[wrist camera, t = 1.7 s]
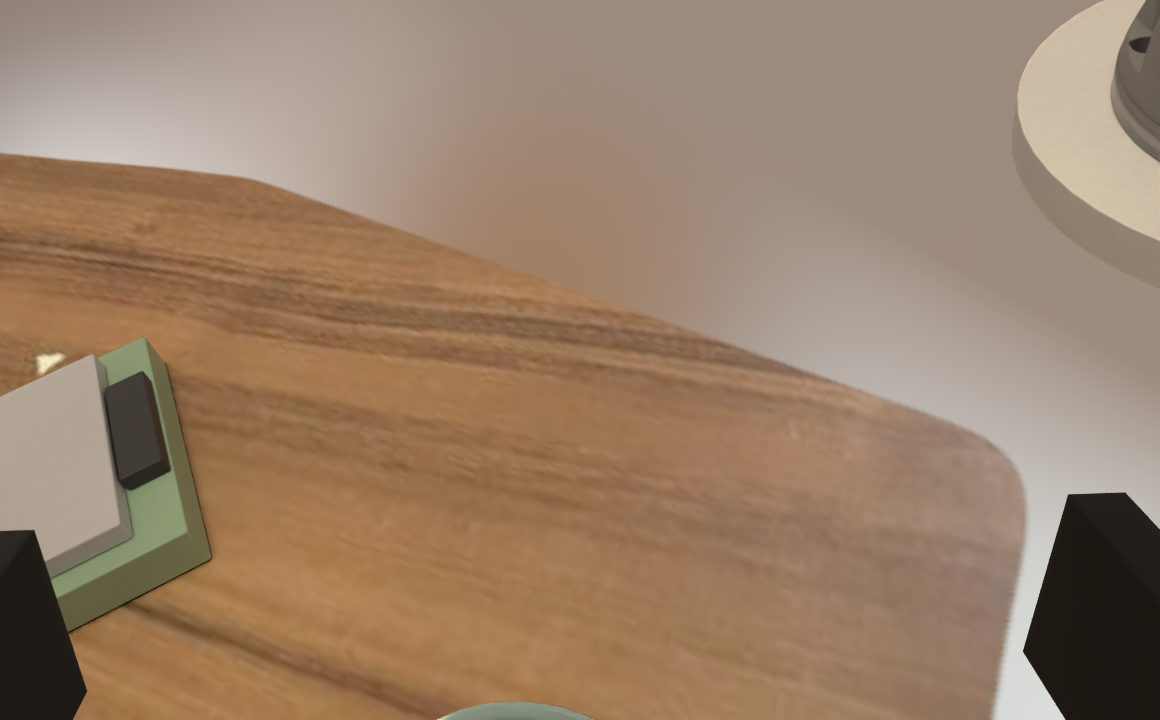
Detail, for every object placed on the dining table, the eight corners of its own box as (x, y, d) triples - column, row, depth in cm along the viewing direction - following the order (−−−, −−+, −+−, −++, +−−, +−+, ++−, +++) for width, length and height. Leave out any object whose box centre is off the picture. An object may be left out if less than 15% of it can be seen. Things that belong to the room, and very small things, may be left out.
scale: (165, 363, 47) (132, 320, 45) (212, 558, 39) (174, 516, 36) (-122, 499, 45) (-171, 461, 43) (-143, 740, 36) (-206, 707, 34)
